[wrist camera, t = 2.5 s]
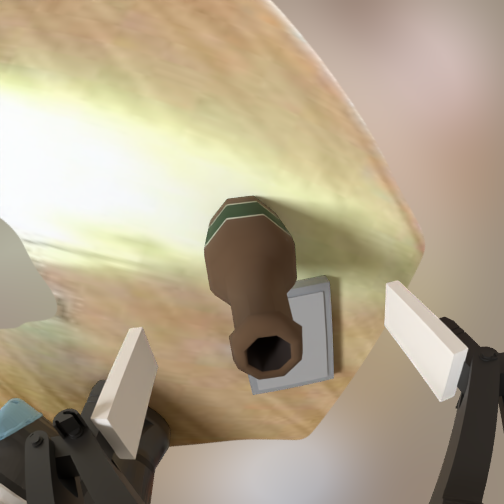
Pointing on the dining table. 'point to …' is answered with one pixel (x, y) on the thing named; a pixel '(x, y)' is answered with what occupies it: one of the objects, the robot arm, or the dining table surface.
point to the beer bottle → (255, 285)
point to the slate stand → (307, 337)
